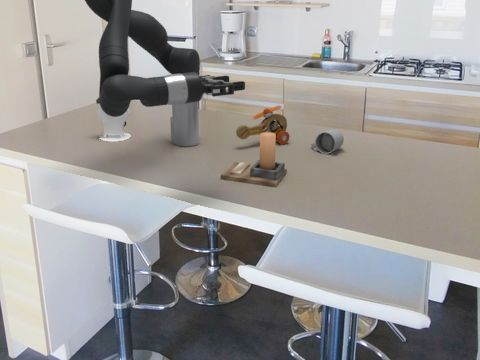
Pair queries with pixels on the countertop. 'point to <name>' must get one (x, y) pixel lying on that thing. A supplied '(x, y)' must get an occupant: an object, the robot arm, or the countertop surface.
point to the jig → (255, 173)
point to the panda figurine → (113, 125)
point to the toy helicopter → (267, 126)
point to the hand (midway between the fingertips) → (236, 82)
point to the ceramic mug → (328, 141)
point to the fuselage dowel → (267, 150)
